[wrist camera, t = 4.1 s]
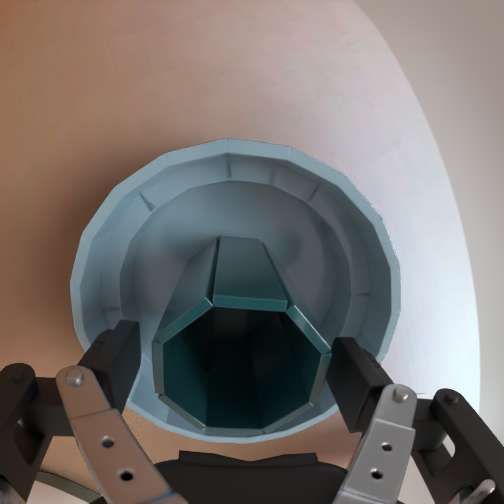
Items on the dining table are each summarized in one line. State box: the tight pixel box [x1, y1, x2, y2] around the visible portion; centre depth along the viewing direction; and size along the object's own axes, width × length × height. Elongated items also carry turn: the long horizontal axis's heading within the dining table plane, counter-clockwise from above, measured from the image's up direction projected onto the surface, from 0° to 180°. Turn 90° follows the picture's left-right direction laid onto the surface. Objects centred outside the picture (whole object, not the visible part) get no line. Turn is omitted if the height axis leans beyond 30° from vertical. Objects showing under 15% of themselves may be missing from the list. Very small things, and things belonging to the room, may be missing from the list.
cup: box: [397, 394, 455, 504], centre depth 17 cm, size 8×8×16 cm
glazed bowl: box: [70, 138, 401, 444], centre depth 16 cm, size 16×16×6 cm
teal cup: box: [151, 236, 332, 435], centre depth 14 cm, size 6×6×9 cm
